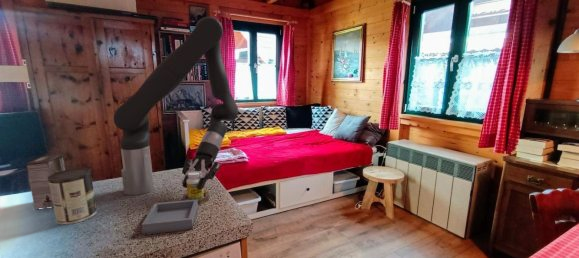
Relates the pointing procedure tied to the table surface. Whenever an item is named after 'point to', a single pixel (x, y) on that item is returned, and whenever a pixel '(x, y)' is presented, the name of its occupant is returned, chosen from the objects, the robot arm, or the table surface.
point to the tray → (170, 217)
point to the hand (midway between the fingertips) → (191, 187)
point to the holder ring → (200, 201)
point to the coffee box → (43, 178)
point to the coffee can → (72, 195)
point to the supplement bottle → (194, 186)
